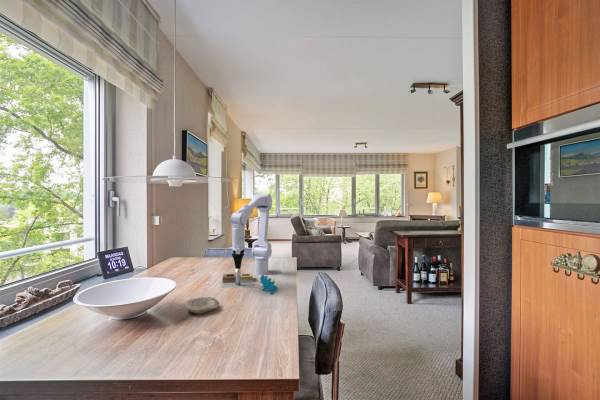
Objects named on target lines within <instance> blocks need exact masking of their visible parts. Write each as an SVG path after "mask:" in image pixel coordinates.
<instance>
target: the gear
mask: <svg viewBox="0 0 600 400" xmlns="http://www.w3.org/2000/svg"><path fill="white" fill-rule="evenodd" d="M259 283H261V284H262V285H261V286H262V289H261V290H260V291H261V292H263V291H265V292H269V294H271V295H272V294H276V292H279V291H278V287H277V285H275V283H276V281H275V280H272V278H271V277H268V275H260V277H259Z"/></svg>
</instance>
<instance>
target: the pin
mask: <svg viewBox="0 0 600 400" xmlns="http://www.w3.org/2000/svg"><path fill="white" fill-rule="evenodd" d="M241 270H242V268H240V269H236V268H235V274H236V281H235V285H236V286H239V285H241V273H242V271H241Z"/></svg>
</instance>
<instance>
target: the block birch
mask: <svg viewBox="0 0 600 400" xmlns="http://www.w3.org/2000/svg"><path fill="white" fill-rule="evenodd" d="M253 273H254V272H249V273H248V272H245V273H242V272H241V282H253V277H254V275H253Z"/></svg>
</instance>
